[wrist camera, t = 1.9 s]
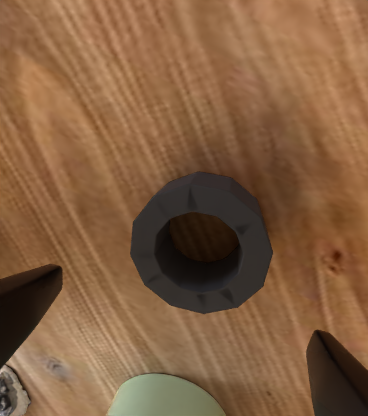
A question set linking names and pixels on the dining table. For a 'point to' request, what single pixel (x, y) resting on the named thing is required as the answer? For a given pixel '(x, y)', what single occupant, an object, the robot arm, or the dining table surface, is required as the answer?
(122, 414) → the green cylinder with peg
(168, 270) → the rubber ring
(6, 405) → the blueberry tart
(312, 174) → the dining table surface
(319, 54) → the dining table surface
